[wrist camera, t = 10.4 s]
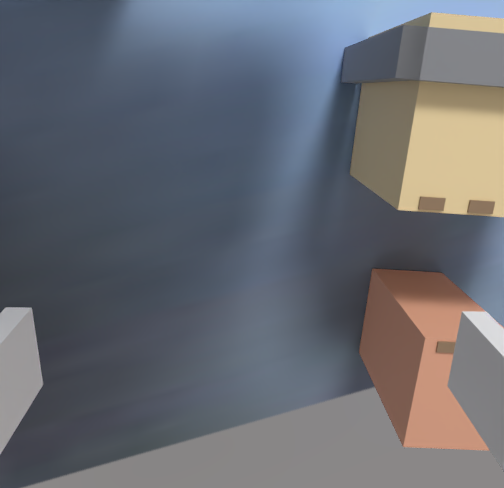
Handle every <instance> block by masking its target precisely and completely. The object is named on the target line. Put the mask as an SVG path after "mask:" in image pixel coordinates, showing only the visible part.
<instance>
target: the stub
mask: <svg viewBox="0 0 504 488" xmlns="http://www.w3.org/2000/svg"><path fill="white" fill-rule="evenodd" d="M462 311H475V312H486V311H484V310H483V309H482V308H481V307H480V306H479V305H478V304H477V303H475V302H474V301H473V300H472V299H471V298H470V297H469V296H468V295H466V294H465V293H464V292H463V291H462V290H461V289H460V288H459V287H457V286H456V285H455V284H454V283H453V282H452V281H451V280H450V279H448V278H447V277H446V276H445V275H444V274H443V273H440V272H423V271H406V270H390V269H373V268H372V273H371V280H370V286H369V292H368V298H367V305H366V311H365V317H364V324H363V330H362V336H361V342H360V349H359V354H360V356H361V358H362V360H363V362H364V364H365V366H366V368H367V371H368V373H369V375H370V377H371V379H372V381H373V383H374V386H375V388H376V390H377V392H378V394H379V396H380V398H381V401H382V403H383V405H384V407H385V409H386V411H387V413H388V416H389V418H390V420H391V422H392V424H393V426H394V428H395V431H396V433H397V435H398V437H399V439H400V441H401V443H402V445H403V447H416V448H417V447H418V448H441V449H442V448H443V449H466V450H489V448H488V447H487V445H486V444H485V442H484V441H483V439H482V438H481V436H480V435H479V433H478V432H477V430H476V429H475V427H474V426H473V424H472V423H471V421H470V420H469V418H468V417H467V415H466V414H465V412H464V411H463V409H462V407H461V406H460V404H459V403H458V401H457V400H456V398H455V397H454V395H453V394H452V392H451V391H450V389H449V388H448V386H447V385H448V380H449V375H450V370H451V365H452V360H453V354H454V349H455V344H456V339H457V334H458V329H459V324H460V318H461V313H462ZM494 320H495V319H494ZM495 321H496V320H495ZM496 322H497V321H496ZM497 323H498V322H497ZM498 324H499V323H498ZM499 325H500V324H499ZM500 326H501V325H500ZM501 327H502V328H503V329H504V327H503V326H501Z"/></svg>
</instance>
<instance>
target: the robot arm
mask: <svg viewBox="0 0 504 488" xmlns="http://www.w3.org/2000/svg"><path fill="white" fill-rule="evenodd" d="M42 386H43V380H42V373H41V366H40V360H39V353H38V346H37V339H36V332H35V326H34V319H33V312H32V308H24V307H6V308H5V309H4V310H3V311H2V312H1V313H0V454H1V452H2V451H3V449H4V448H5V446H6V444H7V443H8V441H9V439H10V438H11V436H12V435H13V433H14V431H15V430H16V428H17V426H18V425H19V423H20V422H21V420H22V418H23V417H24V415H25V413H26V412H27V410H28V409H29V407H30V405H31V404H32V402H33V400H34V399H35V397H36V395H37V394H38V392H39V391H40V389H41V387H42ZM447 386H448V388H449V389H450V391H451V392H452V394H453V395H454V397H455V398H456V400H457V401H458V403H459V404H460V406H461V407H462V409H463V411H464V412H465V414H466V415H467V417H468V418H469V420H470V421H471V423H472V424H473V426H474V427H475V429H476V430H477V432H478V433H479V435H480V436H481V438H482V439H483V441H484V442H485V444H486V445H487V447H488V448H489V450H490V451H491V453H492V455H493V456H494V457H495V459H496V461H497V462H498V464H499V465H500V467H501V468H502V470H503V471H504V329H503V328H502V327H501V326H500V325H499V324H498V323H497V322H496V321H495V320H494V319H493V318H492V317H491V316H490V315H489V314H488V313H487V312H475V311H462V313H461V318H460V324H459V329H458V334H457V339H456V344H455V349H454V354H453V360H452V365H451V370H450V375H449V380H448V385H447Z"/></svg>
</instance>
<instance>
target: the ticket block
mask: <svg viewBox="0 0 504 488" xmlns="http://www.w3.org/2000/svg"><path fill="white" fill-rule="evenodd" d="M341 82H343V83H356V84H358V83H362V86H361V94H360V101H359V109H358V116H357V123H356V131H355V138H354V145H353V153H352V160H351V168H350V175H351V176H353V177H354V178H355V179H357V180H358V181H359V182H361V183H362V184H363V185H365V186H366V187H367V188H369V189H370V190H372V191H373V192H374V193H376V194H377V195H378V196H380V197H381V198H382V199H384V200H385V201H386V202H388V203H389V204H390V205H392V206H393V207H394V208H396V209H397V210H404V211H419V212H434V213H449V214H464V215H480V216H495V217H504V19H501V18H489V17H478V16H466V15H455V14H444V13H432V12H431V13H429V14H426V15H424V16H421V17H419V18H416V19H414V20H411V21H409V22H406V23H404V24H401V25H399V26H396V27H394V28H391V29H389V30H386V31H384V32H381V33H379V34H376V35H374V36H371V37H369V38H368V39H366V40H364V41H361V42H358V43H356V44H353V45H351V46H348V47H346V48H345V52H344V60H343V68H342V76H341Z"/></svg>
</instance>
